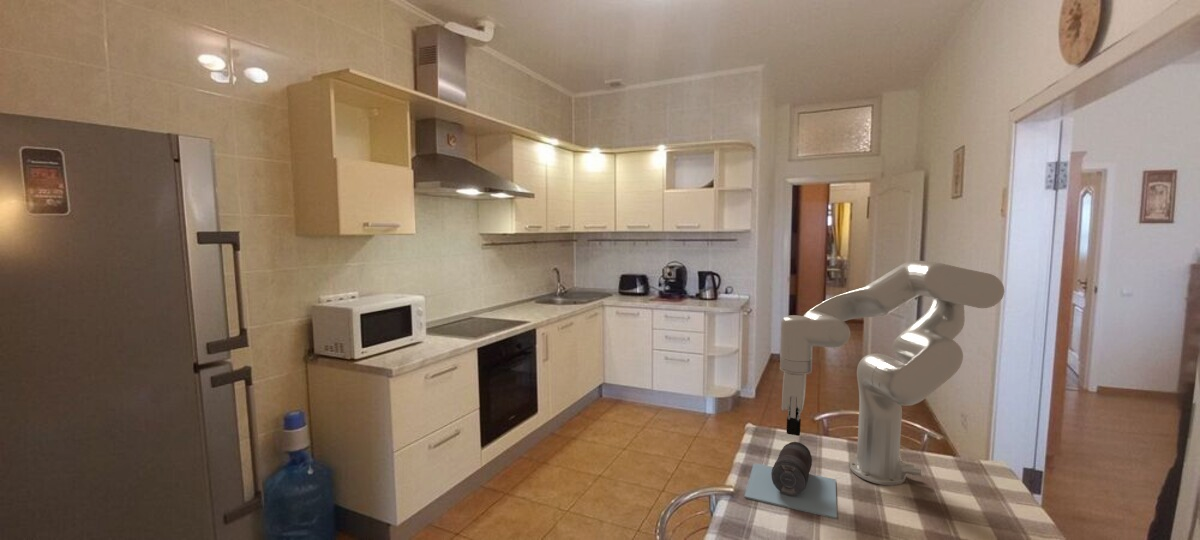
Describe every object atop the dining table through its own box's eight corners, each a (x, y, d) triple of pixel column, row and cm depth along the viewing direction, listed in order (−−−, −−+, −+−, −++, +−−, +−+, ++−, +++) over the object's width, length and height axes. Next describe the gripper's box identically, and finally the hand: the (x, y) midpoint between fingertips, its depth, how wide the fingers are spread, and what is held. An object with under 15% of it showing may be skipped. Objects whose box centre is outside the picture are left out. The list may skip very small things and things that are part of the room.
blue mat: (835, 480, 120) (835, 479, 120) (836, 519, 105) (837, 517, 105) (753, 464, 129) (753, 463, 129) (744, 497, 113) (744, 496, 113)
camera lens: (816, 470, 123) (807, 499, 111) (783, 466, 128) (772, 494, 115) (812, 440, 123) (804, 465, 110) (780, 437, 127) (768, 461, 115)
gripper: (782, 355, 128) (780, 420, 130) (777, 371, 114) (774, 443, 116) (812, 358, 124) (810, 424, 126) (810, 375, 111) (808, 449, 113)
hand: (793, 433), depth 121 cm, fingers closed
